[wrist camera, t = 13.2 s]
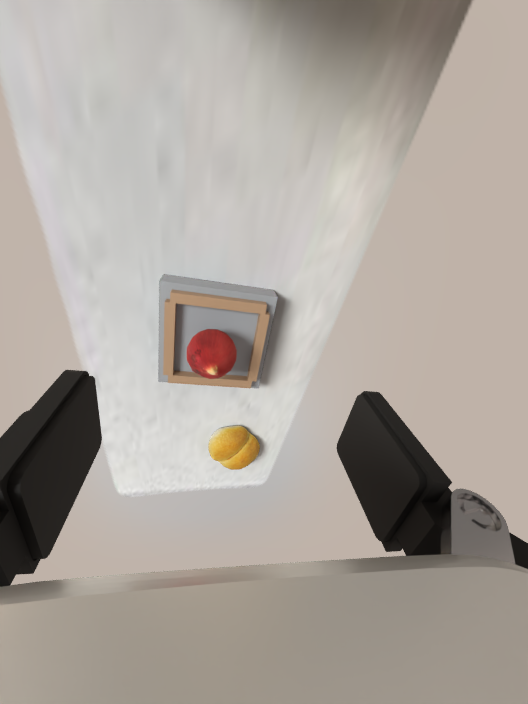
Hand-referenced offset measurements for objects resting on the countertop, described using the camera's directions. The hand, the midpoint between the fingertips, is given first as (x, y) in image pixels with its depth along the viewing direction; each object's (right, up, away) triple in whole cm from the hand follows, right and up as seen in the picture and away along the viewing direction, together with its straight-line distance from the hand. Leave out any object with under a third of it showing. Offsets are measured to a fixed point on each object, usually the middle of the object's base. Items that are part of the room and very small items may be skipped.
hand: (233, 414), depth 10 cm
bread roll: (-4, -14, +40) cm, 43 cm away
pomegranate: (-6, +4, +26) cm, 27 cm away
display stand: (-6, +5, +29) cm, 30 cm away
